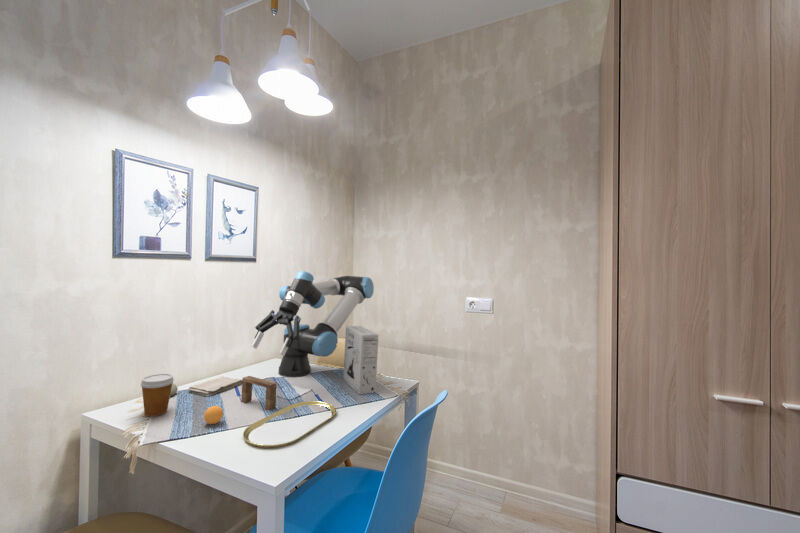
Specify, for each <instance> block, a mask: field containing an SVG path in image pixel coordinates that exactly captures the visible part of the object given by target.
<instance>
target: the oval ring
mask: <svg viewBox="0 0 800 533" xmlns="http://www.w3.org/2000/svg"><path fill="white" fill-rule="evenodd" d="M303 405H320V406H319V407H321V406H324V407H323V408H325V407H327V408H328V410H329V409H330V410H329V411H330V412H331V416H330V417H329V418H327V419H326V420H324V421H323V422H321V423H319V424H317V425H316V426H315V427H312V428H311V429H309V430H308V431H307V432H305V433H304V434H301V435H300V436H298V437H297V438H295V439H292V440H291V441H290V440H289V441H287V442H283V443H277V444H258V443H254V442H252V441H251V440H250V439H249V437H250V434H251V433H252V431H254V430H256V429H257V428H259V427H261V426H263V425H265V424H264V422H266V421H269V420H270V419H272V418H274V417H276V416H279V415H281V414H283V413H285V412H287V411H289V410H291V409H293V408H295V409H297V408H296V407H298V408H300V407H299V406H302V407H304V406H303ZM327 408H326V409H327ZM336 408H337V407H335V406H334V405H332V404H331V403H328V402H325V401H318V400H309V401H300V402H299V401H298V402H295V403H293V404H289V405H287V406H285V407H283V408H282V409H280V410H278V411H275V412H273V413H272V414H270V415H268V416H265V417H264V418H261V419H259V420H257V421H255V422H253V423H251V424H250V425H249V426H247V427H246V428H245V429H244V430H243V433H242V434H243V435H242V437H243V439H244V440H245V441H246V442H247V443H248V444H249V445H251V446H254V447H256V448H264V449H265V448H266V449H273V448H281V447H285V446H288V445H292V444H293V443H296V442H297V441H299V440H300V439H302V438H303V437H305V436H307V435H308V434H310V433H311V432H314V430H316V429H317V428H319V427H321V426H322V425H324V424H326V423H327V422H329V421H330V420H332V419H333V418H334V417H335V415H336V413H337V409H336ZM293 410H294V409H293ZM291 411H292V410H291ZM289 412H290V411H289ZM287 413H288V412H287ZM285 414H286V413H285ZM283 415H284V414H283ZM281 416H282V415H281ZM279 417H280V416H279ZM269 422H270V421H269Z"/></svg>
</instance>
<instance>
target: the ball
mask: <svg viewBox="0 0 800 533" xmlns="http://www.w3.org/2000/svg"><path fill="white" fill-rule="evenodd" d="M223 416H224V410H223V408H222V407H221V406H218V405H213V406H212V405H211V406H210V407H208V408H207V409H206V410H205V412H204V415H203V418H204V421H205V423H207V425H208V424H209V425H215V424H218V423H220V421H221V420H222V419H223Z"/></svg>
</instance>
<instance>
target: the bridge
mask: <svg viewBox="0 0 800 533" xmlns="http://www.w3.org/2000/svg"><path fill="white" fill-rule="evenodd" d="M241 380H242V385H241V398H240V399H241V403H242V402H243V404H247V403H249V401H250V402H252V401H251V400H252V397H253V385H256V386H259V387H262V388H263V387H264V388H265V402H264V404H265V405H264V410H265V411H268V410H270V411H272V410H275V409H276V408H277V407H276V403H277V397H276V389H278V388H277V384H278V382H274V381H271V380H266V379H263V378H259V377H256V376H253V375H252V376H251V375H246V376H244V377H242V379H241ZM271 409H272V410H271Z"/></svg>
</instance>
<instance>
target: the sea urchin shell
mask: <svg viewBox="0 0 800 533" xmlns="http://www.w3.org/2000/svg"><path fill="white" fill-rule="evenodd" d="M177 392H178V386H177V385H176V384H175V383H174V382H173V383H172V387H171V393H170V397H172V396H174V395H175V394H177Z"/></svg>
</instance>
